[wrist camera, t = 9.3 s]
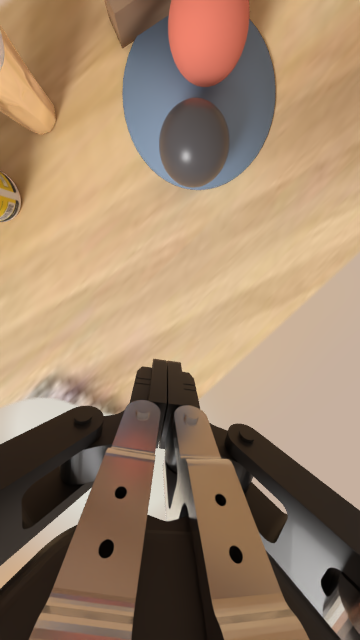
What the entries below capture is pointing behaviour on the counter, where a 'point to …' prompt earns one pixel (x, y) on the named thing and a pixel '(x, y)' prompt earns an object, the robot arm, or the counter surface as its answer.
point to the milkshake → (22, 92)
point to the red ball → (207, 38)
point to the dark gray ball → (194, 142)
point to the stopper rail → (135, 16)
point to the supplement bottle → (8, 198)
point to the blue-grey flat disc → (171, 88)
